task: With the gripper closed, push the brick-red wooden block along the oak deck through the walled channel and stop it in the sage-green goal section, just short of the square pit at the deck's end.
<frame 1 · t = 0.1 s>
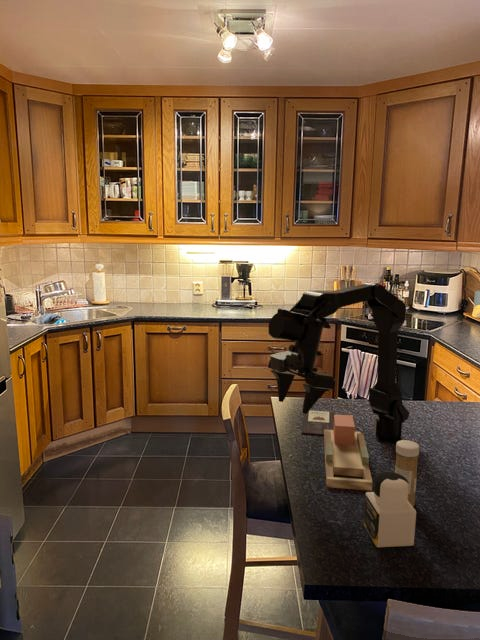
hand: (292, 407, 114), 15 cm above the kitchen island, tool pointing down, fingers open, 9 cm apart
deck: (345, 460, 121), on the kitchen island
sprinkles bottle: (403, 503, 102), on the kitchen island
chocolate bar: (318, 425, 144), on the kitchen island
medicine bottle: (387, 536, 91), on the kitchen island
block: (343, 437, 129), point 2 cm above the kitchen island, touching deck
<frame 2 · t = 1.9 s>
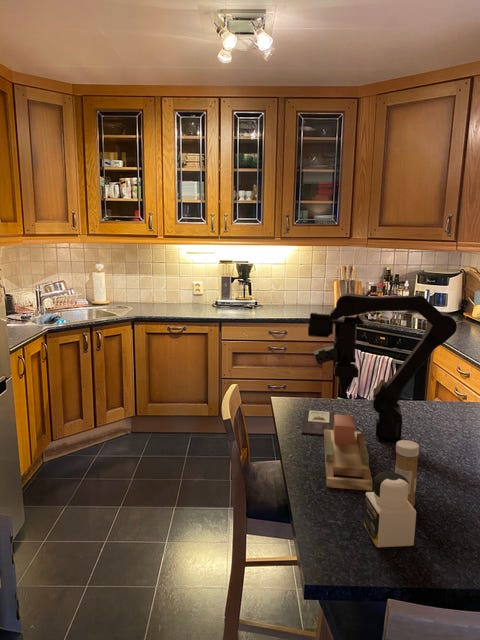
hand: (342, 392, 136), 12 cm above the kitchen island, tool pointing down, fingers closed
nothing on the kitchen island moved.
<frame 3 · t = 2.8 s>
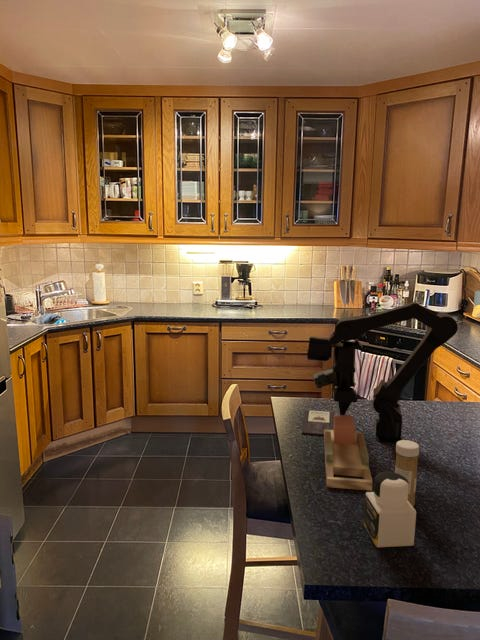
hand: (342, 415, 137), 5 cm above the kitchen island, tool pointing down, fingers closed
nothing on the kitchen island moved.
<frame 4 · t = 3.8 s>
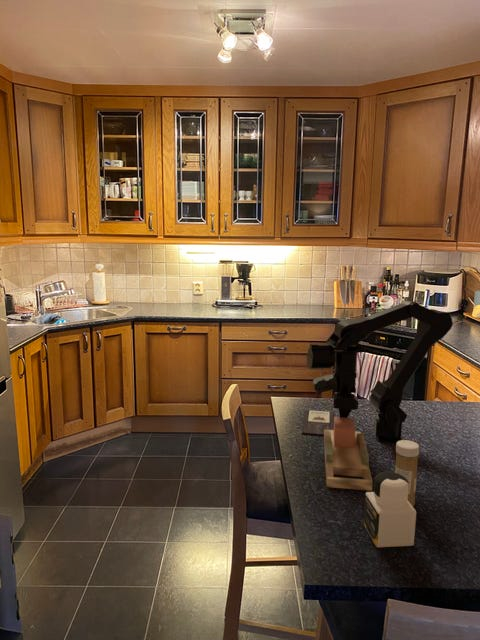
hand: (342, 422, 132), 5 cm above the kitchen island, tool pointing down, fingers closed
block: (343, 440, 127), point 2 cm above the kitchen island
everything else where it was.
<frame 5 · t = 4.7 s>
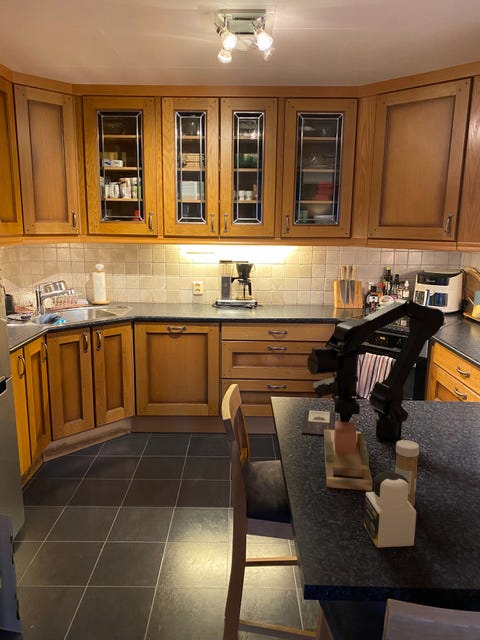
hand: (343, 426, 129), 5 cm above the kitchen island, tool pointing down, fingers closed
block: (344, 446, 124), point 2 cm above the kitchen island, touching deck, gripper
everything else where it was.
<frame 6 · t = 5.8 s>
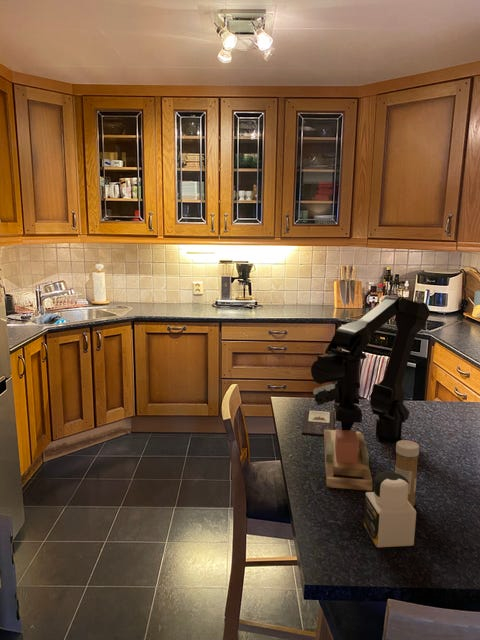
hand: (344, 435, 123), 5 cm above the kitchen island, tool pointing down, fingers closed
block: (345, 455, 119), point 2 cm above the kitchen island, touching deck, gripper
everything else where it was.
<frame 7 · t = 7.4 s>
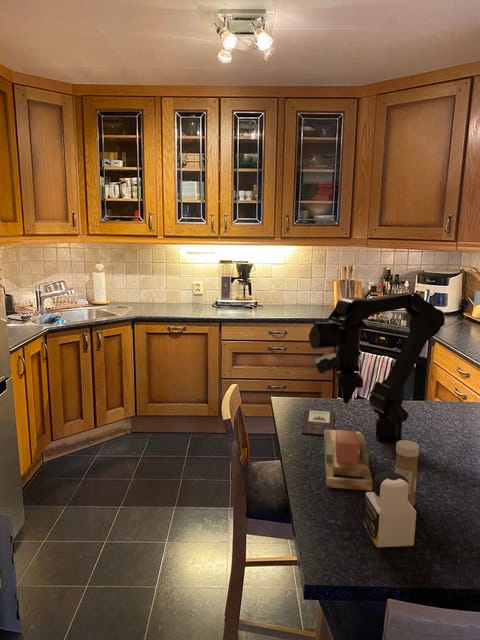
hand: (345, 402, 127), 12 cm above the kitchen island, tool pointing down, fingers closed
block: (346, 455, 119), point 2 cm above the kitchen island, touching deck
everything else where it was.
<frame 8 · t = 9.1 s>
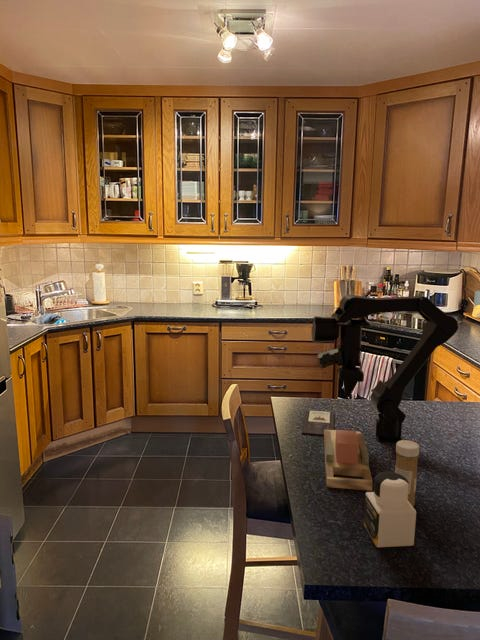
hand: (347, 396, 132), 12 cm above the kitchen island, tool pointing down, fingers closed
nothing on the kitchen island moved.
at the end: block 0.3 cm from the target spot, point 2.0 cm above the kitchen island; block tilted 0° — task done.
